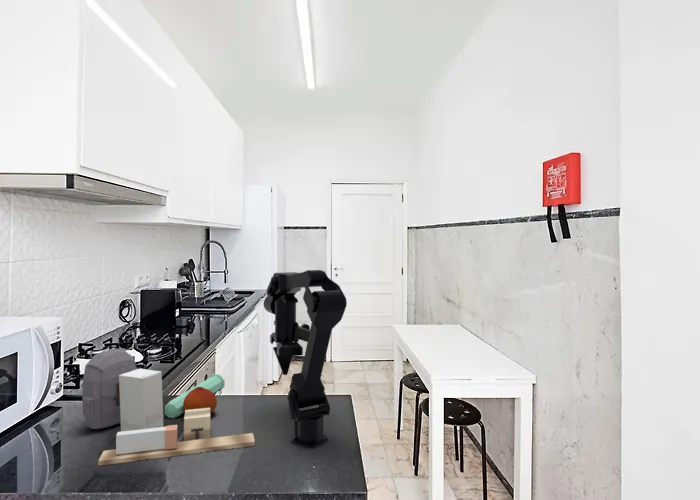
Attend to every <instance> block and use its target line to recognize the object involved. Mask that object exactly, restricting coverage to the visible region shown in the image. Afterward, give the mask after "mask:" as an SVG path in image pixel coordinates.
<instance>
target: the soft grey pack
mask: <svg viewBox="0 0 700 500" xmlns="http://www.w3.org/2000/svg"><path fill="white" fill-rule="evenodd" d="M136 369H138V368H137V365H136V362H135V357H134V356H133V355H131V354H130V353H129V352H127V351H125V350H124V349H122V348H110V349H107V350H102V351H100V352H98V353H97V354H94V355H93V356H92V357H91V358H90V360H89V361H88V362H86V364H85V366H84V373H83V378H82V393H81V394H82V395H81V398H82V399H81V400H82V414H83V417H84V421H85V422H86V424H87V427H88V428H89V429H91V430H101V429H105V428H109V427H111V426H116V425H118V424H121V417H120V390H119V375H121V374H124V373H128V372H131V371H133V370H136Z"/></svg>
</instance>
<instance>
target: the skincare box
mask: <svg viewBox="0 0 700 500" xmlns="http://www.w3.org/2000/svg"><path fill="white" fill-rule="evenodd" d="M162 374H163V372H162V371H160V370H152V369H146V368H137V369H136V370H133V371H131V372H128V373H124V374H121V375H119V390H120V417H121V423H120V432H122V431H131V430H140V429H149V428H159V427H164V412H163V411H164V405H163V402H164V401H163V399H164V398H163V379H162V378H163V375H162Z"/></svg>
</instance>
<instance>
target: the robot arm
mask: <svg viewBox="0 0 700 500" xmlns="http://www.w3.org/2000/svg"><path fill="white" fill-rule="evenodd" d="M315 287H316V288H319V287H321V289H322V290H314V291H311V288H315ZM303 288H304V293H303V296H302V300H303V302H304V304H305V307H306V309H307V310H306V314H307V315H308V317H309V319H310V322H311V324H310V325H309V324H306V323H303V324H301V325H299V322H298V321H297V304H298V302H299V300H298V297H296V294H297V293H298V292H300V291H302V289H303ZM265 291H266V297H265V299H264V300H263V307H264V309H265V311H266V312H268V313H269V314H272V315H274V320H273V325H274V331H273V332H272V333H271V334H270V336H269V343H270V344H271V345H273V344H274V343H275V346H273V347H272V349H273V352H274V355H275V358H276V359H277V362H278V365H279V367H280V369H281V372H282V375H283V376H287V375H288V374H289V371H290V366H291V364H292V363H291V362H292V359H293V357H299V356H303V355H304V357H303V362H302V367H301V370H300V371H301V372H298V373H293V374H292V376H291V382H290V385H289V391H288V393H287V403H288V410H289V411H288V412H289V415H290V419H291V420H294V424H293V425H294V428H293V430H294V433H293V435H294V437H293V438H291V443H294V444H297V445H300V446H303V447H307V448H311V449H313V448H315V447H316V446H318V445H319V444H322V443H323V442H324V441H326V440H327V439H328V436H327V435H325V433H324V429H325V426H324V423H325V422H324V421H325V417H324V416H329V415H330V414H331V413H330V412H331V407H330V403H329V400H328V398H327V395H326V392H325V391H326V389H325V386H324V383H323V382H322V379H321V377H322V373H323V369H324V365H325V361H326V357H327V352H328V347H329V344H330V340H331V335H332V331H333V329H334V328H335V327H336V326H337V325H338V324H339V323H340V322H341V320H342V319H343V316H344V313H345V311H346V308H347V305H348V303H347V302H348V301H347V297H346V296H345V294H344V291H343V290H342V288H341V287H340V285H339V284H338V283H337V282H335V281H334V280H333V279H331V278H330V277H328V274H327V273H326V272H325V270H322V269H307V270H305V271H302V272H295V271H294V272H293V271H291V272H288V271H287V272H286V271H285V272H274V273H273V275H272V276H271V278H270V281H269V283H268V285H267V288H266V290H265ZM300 341H303V342H306V349H305V353H304V350H303V349H304V348H303V346H302V345H301V344H300V343H299V342H300ZM315 406H317V407H315ZM311 407H312V408H311ZM303 408H304V409H303ZM305 408H307V409H305ZM300 409H302V410H300Z"/></svg>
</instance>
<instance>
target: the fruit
mask: <svg viewBox="0 0 700 500" xmlns="http://www.w3.org/2000/svg"><path fill="white" fill-rule="evenodd" d="M217 403H218V400H217V396H216V394H215V393H213V392H211V391H210V390H208V389H205V388H203V387H196V388H195V389H193V390H191V391H190V392H189V393H188V394H187V396H186V397H185V399H184V402H183V409H184V411H185V410H192V409H202V408H210V414H212V413H213V412H214V411H215V410H216V408H217Z"/></svg>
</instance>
